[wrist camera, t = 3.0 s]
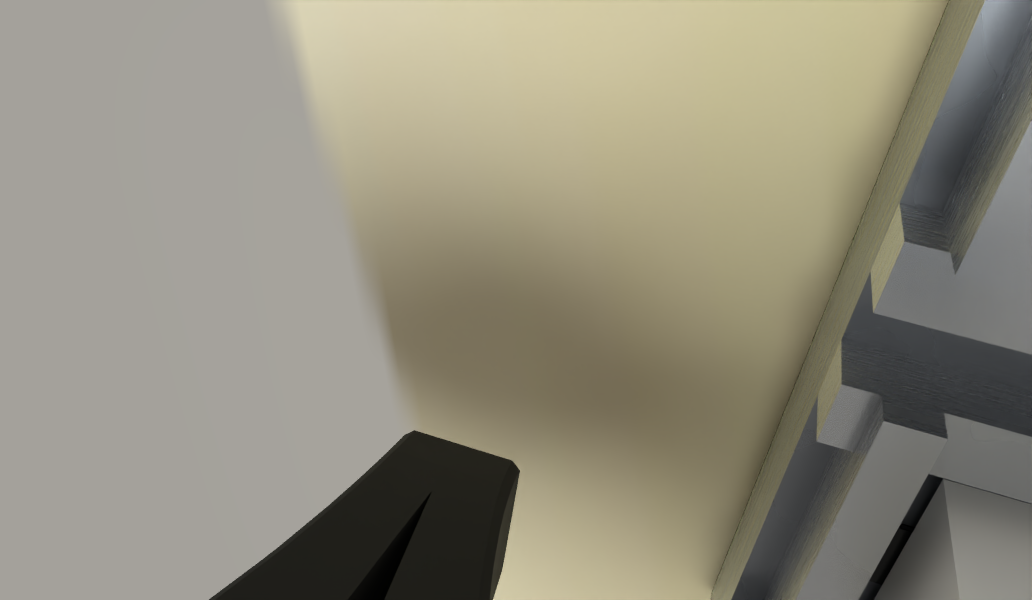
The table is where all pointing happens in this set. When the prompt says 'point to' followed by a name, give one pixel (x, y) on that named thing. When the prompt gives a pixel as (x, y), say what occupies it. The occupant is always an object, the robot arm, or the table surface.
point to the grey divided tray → (912, 334)
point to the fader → (965, 549)
